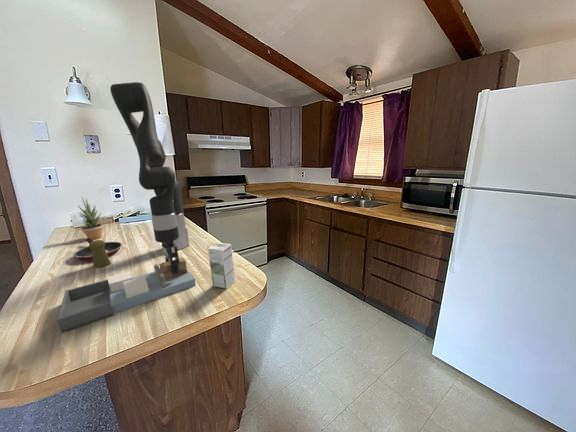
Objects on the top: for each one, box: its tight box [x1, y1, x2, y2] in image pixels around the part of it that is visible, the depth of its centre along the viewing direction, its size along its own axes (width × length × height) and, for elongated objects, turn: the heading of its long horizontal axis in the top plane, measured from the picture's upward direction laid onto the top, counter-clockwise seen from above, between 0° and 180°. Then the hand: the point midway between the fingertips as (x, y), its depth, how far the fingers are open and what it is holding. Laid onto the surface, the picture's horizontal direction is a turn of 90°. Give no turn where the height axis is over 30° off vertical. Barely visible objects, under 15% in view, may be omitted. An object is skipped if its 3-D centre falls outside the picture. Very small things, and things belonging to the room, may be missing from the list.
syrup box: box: [207, 242, 236, 290], centre depth 83 cm, size 6×6×14 cm
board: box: [109, 269, 196, 314], centre depth 83 cm, size 24×16×2 cm, turn 128°
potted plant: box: [77, 196, 104, 241], centre depth 135 cm, size 10×10×25 cm
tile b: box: [108, 271, 133, 292], centre depth 81 cm, size 6×6×3 cm
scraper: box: [153, 257, 188, 288], centre depth 86 cm, size 9×14×5 cm, turn 38°
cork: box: [88, 239, 112, 269], centre depth 102 cm, size 6×6×11 cm
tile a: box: [123, 276, 149, 298], centre depth 77 cm, size 6×6×3 cm
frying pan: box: [72, 237, 123, 261], centre depth 118 cm, size 19×32×4 cm, turn 50°
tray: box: [57, 278, 114, 334], centre depth 73 cm, size 11×18×4 cm, turn 38°
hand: (172, 269), depth 86 cm, fingers open, 8 cm apart
